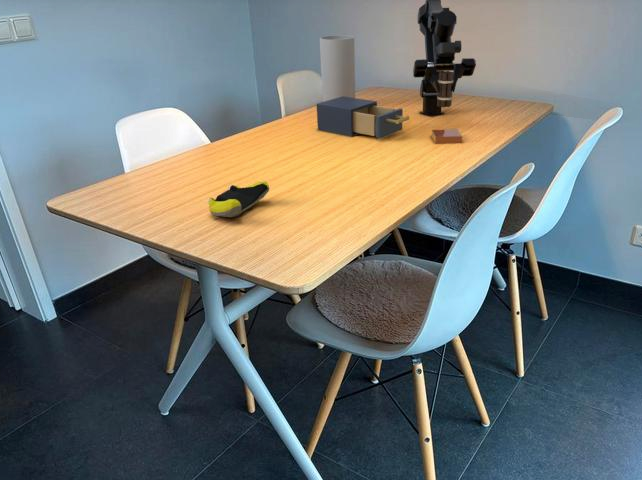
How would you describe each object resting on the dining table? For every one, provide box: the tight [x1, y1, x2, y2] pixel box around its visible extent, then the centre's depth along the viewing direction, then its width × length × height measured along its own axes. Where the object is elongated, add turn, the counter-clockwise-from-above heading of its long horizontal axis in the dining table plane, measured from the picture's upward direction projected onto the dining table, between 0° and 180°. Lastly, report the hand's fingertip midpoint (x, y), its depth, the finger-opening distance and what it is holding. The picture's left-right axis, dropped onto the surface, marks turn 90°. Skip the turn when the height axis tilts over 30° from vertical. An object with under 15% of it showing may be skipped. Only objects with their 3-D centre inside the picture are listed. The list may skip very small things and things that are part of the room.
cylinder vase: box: [319, 34, 356, 102], centre depth 206 cm, size 12×12×25 cm
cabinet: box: [316, 96, 378, 138], centre depth 184 cm, size 15×14×9 cm
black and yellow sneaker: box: [206, 181, 270, 218], centre depth 125 cm, size 15×6×10 cm
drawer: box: [352, 105, 410, 140], centre depth 176 cm, size 18×12×7 cm
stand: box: [431, 128, 463, 144], centre depth 172 cm, size 8×8×2 cm
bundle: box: [437, 71, 454, 108], centre depth 172 cm, size 5×5×10 cm
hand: (445, 91), depth 171 cm, fingers closed on bundle, 4 cm apart
